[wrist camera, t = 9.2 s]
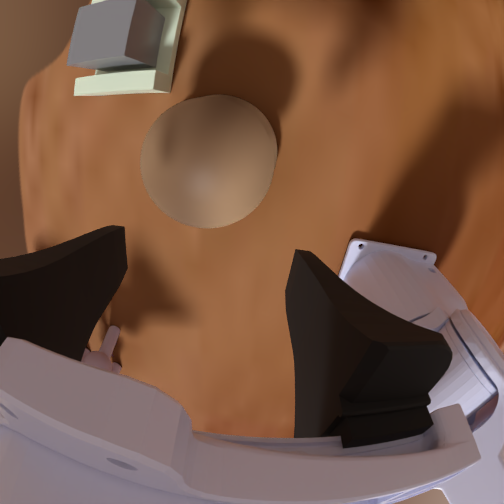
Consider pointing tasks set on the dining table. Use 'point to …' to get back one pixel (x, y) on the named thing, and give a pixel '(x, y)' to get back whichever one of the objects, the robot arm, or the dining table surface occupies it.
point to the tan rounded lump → (209, 160)
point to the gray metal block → (116, 36)
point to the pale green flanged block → (143, 79)
